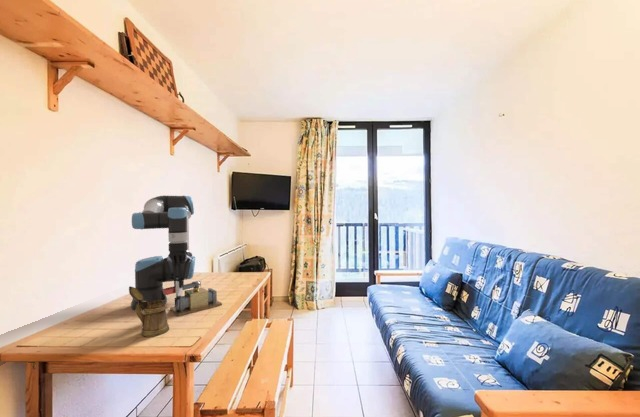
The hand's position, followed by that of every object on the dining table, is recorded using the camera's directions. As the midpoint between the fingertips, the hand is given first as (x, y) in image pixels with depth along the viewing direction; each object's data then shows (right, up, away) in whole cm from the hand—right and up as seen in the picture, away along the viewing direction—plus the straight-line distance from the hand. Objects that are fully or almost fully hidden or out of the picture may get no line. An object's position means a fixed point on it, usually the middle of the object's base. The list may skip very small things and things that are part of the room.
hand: (179, 295), depth 123 cm
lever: (0, +1, +5) cm, 5 cm away
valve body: (+3, -9, +10) cm, 13 cm away
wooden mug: (-3, -9, -17) cm, 20 cm away
